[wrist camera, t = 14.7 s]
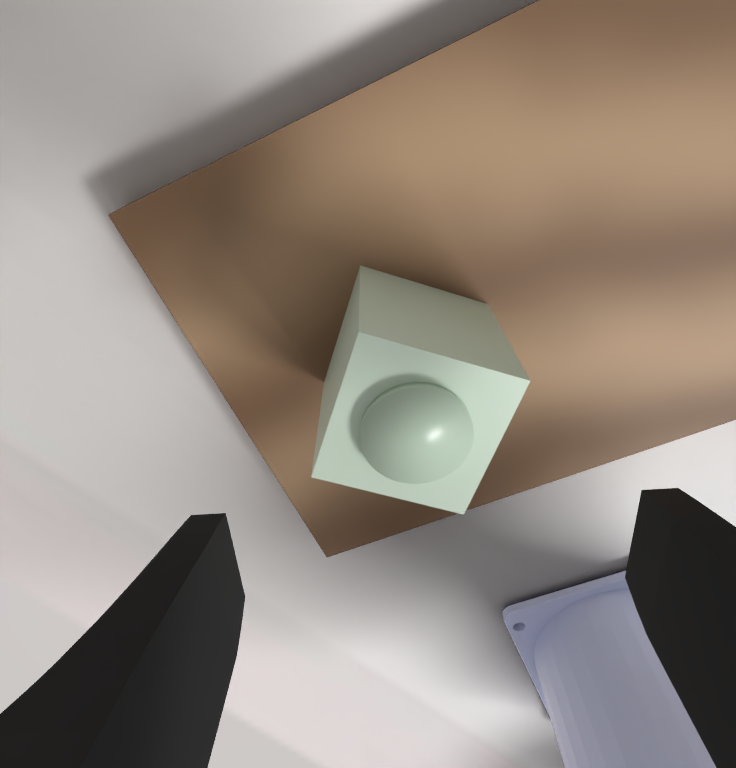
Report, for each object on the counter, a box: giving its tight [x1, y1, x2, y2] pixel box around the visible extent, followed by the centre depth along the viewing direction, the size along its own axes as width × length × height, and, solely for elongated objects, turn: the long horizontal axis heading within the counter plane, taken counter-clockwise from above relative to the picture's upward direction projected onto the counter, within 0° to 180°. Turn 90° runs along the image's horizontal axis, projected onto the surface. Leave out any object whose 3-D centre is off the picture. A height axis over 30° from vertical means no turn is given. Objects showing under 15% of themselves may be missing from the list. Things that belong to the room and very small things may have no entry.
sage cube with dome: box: [311, 265, 530, 515], centre depth 15 cm, size 4×4×5 cm
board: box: [108, 0, 736, 557], centre depth 18 cm, size 14×20×1 cm
